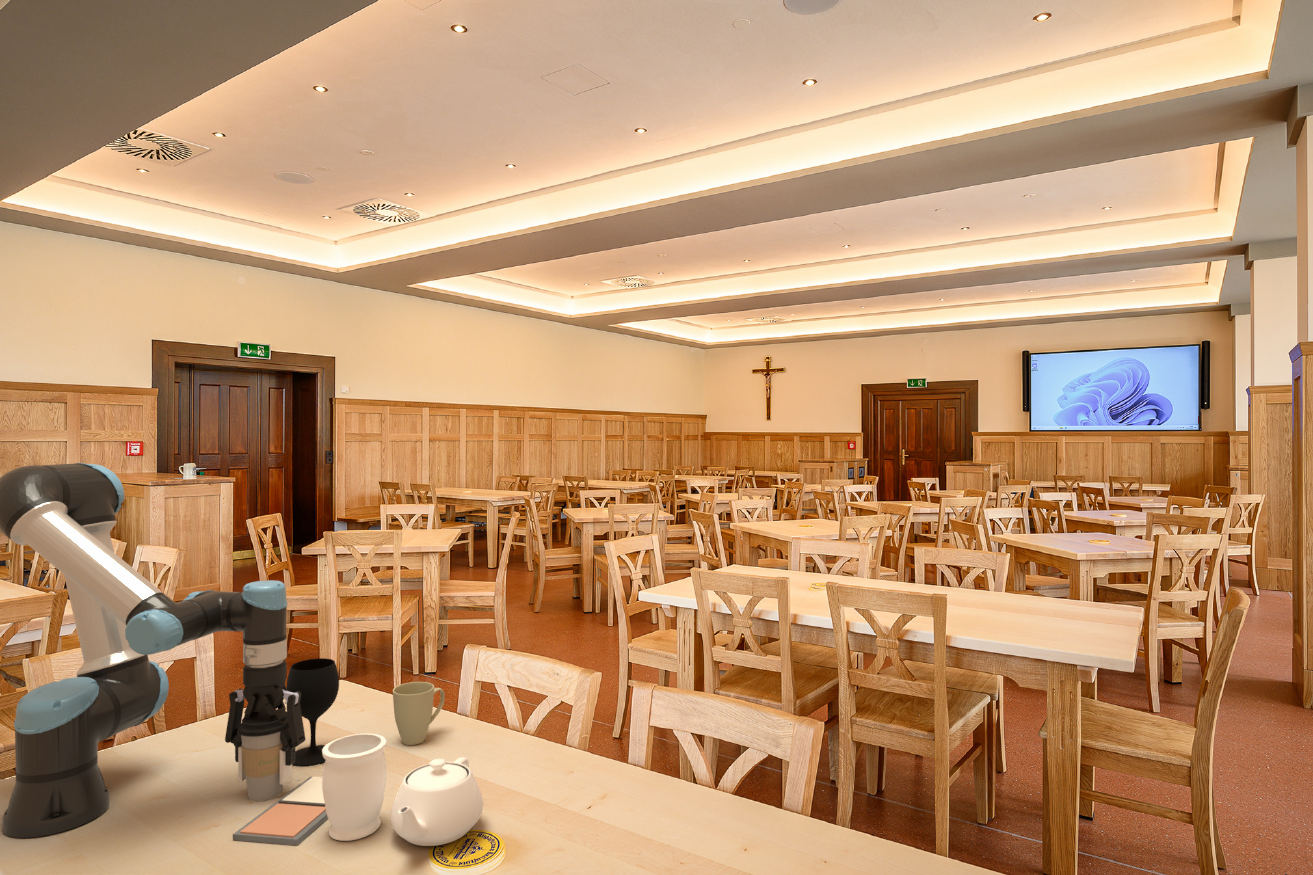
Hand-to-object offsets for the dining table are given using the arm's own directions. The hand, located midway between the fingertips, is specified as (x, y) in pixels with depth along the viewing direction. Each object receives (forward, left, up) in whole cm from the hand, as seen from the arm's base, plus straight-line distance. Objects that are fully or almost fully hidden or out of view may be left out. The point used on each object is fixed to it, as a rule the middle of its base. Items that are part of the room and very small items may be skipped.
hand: (265, 779), depth 145 cm
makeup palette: (+11, -5, -3) cm, 13 cm away
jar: (+24, -10, -3) cm, 26 cm away
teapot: (+39, -9, -3) cm, 40 cm away
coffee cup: (0, 0, -3) cm, 3 cm away
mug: (+17, +29, -3) cm, 34 cm away
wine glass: (-1, +17, -3) cm, 17 cm away
